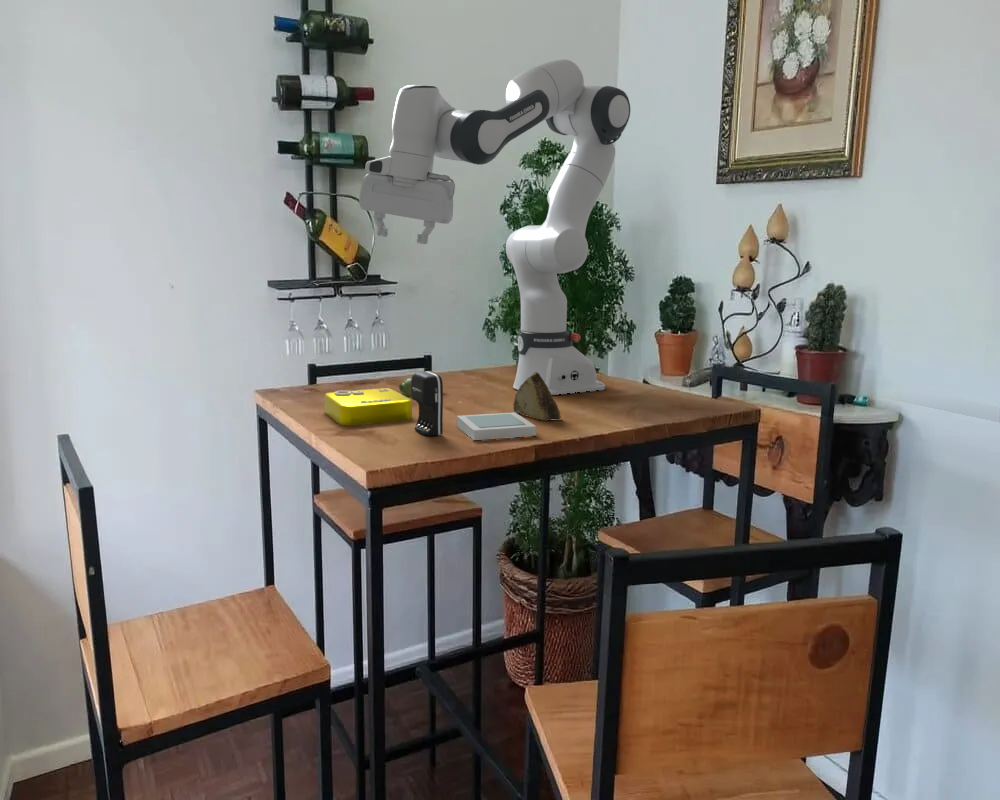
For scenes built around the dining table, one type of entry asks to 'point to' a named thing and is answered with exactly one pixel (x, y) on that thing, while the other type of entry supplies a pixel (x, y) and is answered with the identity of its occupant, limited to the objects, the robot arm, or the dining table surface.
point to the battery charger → (428, 402)
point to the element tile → (367, 406)
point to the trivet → (495, 426)
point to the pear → (407, 386)
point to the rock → (536, 399)
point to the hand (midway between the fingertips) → (401, 239)
